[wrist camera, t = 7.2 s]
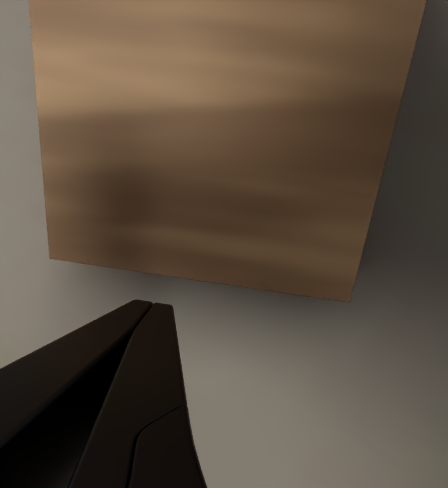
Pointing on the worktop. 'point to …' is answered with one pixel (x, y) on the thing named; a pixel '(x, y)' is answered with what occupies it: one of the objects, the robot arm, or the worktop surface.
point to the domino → (219, 134)
